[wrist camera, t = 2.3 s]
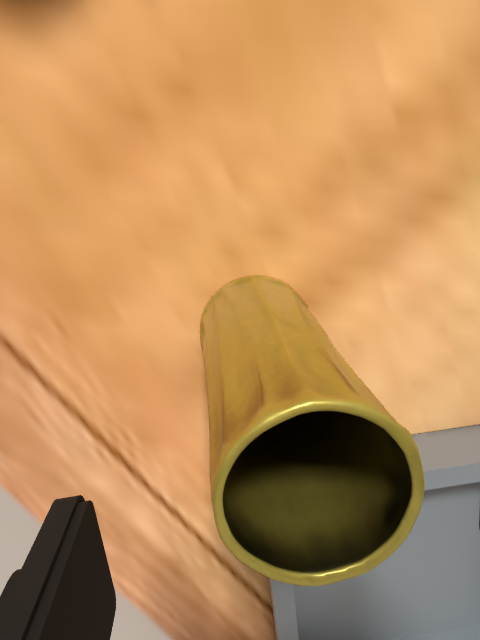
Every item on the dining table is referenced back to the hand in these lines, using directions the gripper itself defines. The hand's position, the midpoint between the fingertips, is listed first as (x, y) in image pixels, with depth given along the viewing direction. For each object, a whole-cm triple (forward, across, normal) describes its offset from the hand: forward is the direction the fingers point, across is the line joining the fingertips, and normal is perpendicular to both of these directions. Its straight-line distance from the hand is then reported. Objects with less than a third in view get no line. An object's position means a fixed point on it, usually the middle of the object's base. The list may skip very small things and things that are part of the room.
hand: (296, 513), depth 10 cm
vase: (+15, -1, 0) cm, 15 cm away
